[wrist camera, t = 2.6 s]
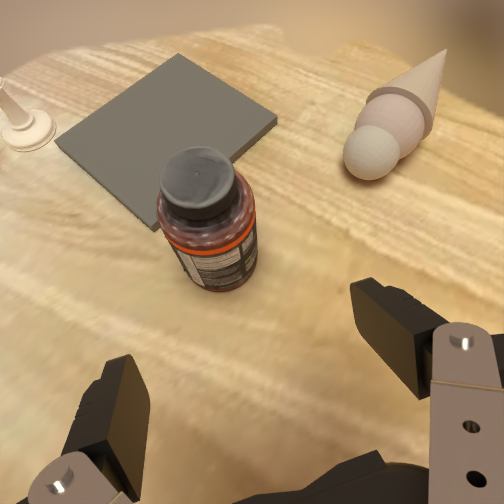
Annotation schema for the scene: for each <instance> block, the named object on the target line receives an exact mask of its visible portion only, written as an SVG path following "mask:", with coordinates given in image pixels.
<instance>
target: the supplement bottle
mask: <svg viewBox="0 0 504 504" xmlns="http://www.w3.org/2000/svg"><path fill="white" fill-rule="evenodd" d="M159 185H160V191H159V193H158V197H157V202H156V215H157V216H156V217H157V220H158V223H159V225H160V227H161V229H162V231H163V233H164V235H165V237H166V239H167V240H168V242H169V243H170V245H171V247H172V249H173V250H174V252H175V254H176V255H177V257H178V259H179V261H180V262H181V264H182V266H183V268H184V271H186V273H187V274H188V276H189V277H190V278H191V279H192V280H193V281H194V282H195V283H196V284H197V285H199V286H201V287H202V288H205V289H207V290H210V291H228V290H231V289H234V288H236V287H238V286H240V285H242V284H243V283H244V282H245V281H246V280H247V279H248V278H249V277H250V276H251V274H252V272H253V271H254V268H255V266H256V262H257V252H258V251H257V232H256V212H255V200H254V196H253V192H252V190H251V187H250V185H249V184H248V182H247V181H246V179H245V178H244V177H243V176H242V175H241V174H240V173H239V172H237V171H236V170H234V167H233V164H232V163H231V161H230V159H229V158H228V157H227V156H226V155H225V154H224V153H222V152H221V151H219V150H217V149H215V148H212V147H208V146H192V147H188V148H184V149H182V150H179V151H177V152H176V153H174V154H173V155H172V156H170V157H169V158H168V159H167V161H166V162H165V163H164V165H163V166H162V168H161V171H160V175H159Z"/></svg>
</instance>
